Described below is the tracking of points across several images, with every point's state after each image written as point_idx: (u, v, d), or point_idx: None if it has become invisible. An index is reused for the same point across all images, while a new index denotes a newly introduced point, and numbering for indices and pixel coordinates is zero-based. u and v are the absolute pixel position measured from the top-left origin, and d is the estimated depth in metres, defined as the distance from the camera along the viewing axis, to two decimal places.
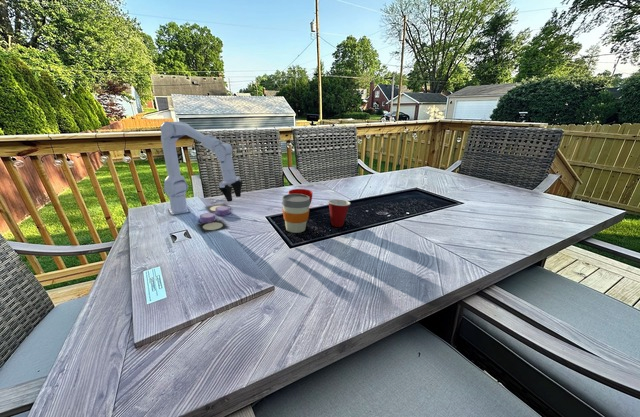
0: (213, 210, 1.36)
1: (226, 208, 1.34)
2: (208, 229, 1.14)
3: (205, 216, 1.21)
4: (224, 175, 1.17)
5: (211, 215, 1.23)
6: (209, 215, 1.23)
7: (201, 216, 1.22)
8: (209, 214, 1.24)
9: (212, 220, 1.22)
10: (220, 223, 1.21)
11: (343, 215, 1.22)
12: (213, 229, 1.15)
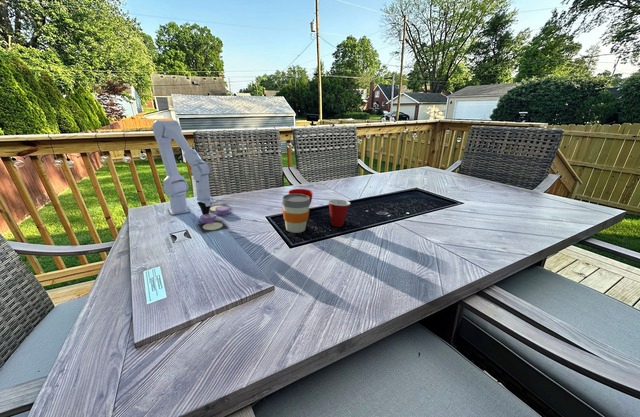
0: (213, 210, 1.36)
1: (226, 208, 1.34)
2: (208, 229, 1.14)
3: (205, 217, 1.21)
4: (203, 194, 1.20)
5: (211, 216, 1.22)
6: (209, 215, 1.23)
7: (202, 217, 1.21)
8: (210, 215, 1.24)
9: (213, 221, 1.21)
10: (220, 223, 1.21)
11: (343, 215, 1.22)
12: (213, 229, 1.15)
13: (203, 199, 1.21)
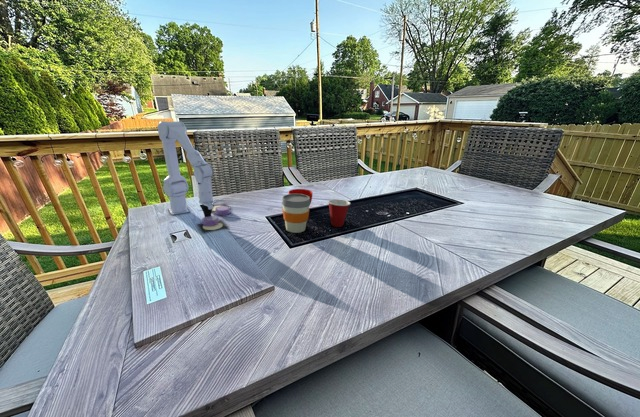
0: (213, 210, 1.36)
1: (226, 208, 1.34)
2: (208, 229, 1.14)
3: (207, 219, 1.18)
4: (206, 196, 1.17)
5: (214, 218, 1.20)
6: (212, 218, 1.20)
7: (204, 219, 1.18)
8: (212, 217, 1.21)
9: (215, 223, 1.19)
10: (220, 223, 1.21)
11: (343, 215, 1.22)
12: (213, 229, 1.15)
13: (205, 202, 1.18)
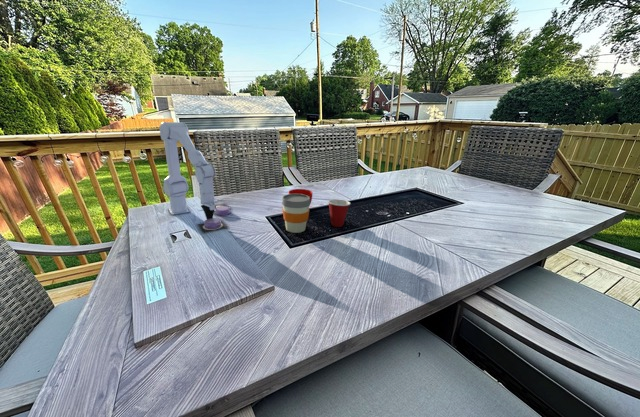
0: None
1: (226, 208, 1.34)
2: (208, 229, 1.14)
3: (210, 222, 1.15)
4: (207, 197, 1.15)
5: (216, 221, 1.17)
6: (214, 221, 1.17)
7: (206, 222, 1.15)
8: (214, 219, 1.18)
9: (217, 226, 1.16)
10: None
11: (343, 215, 1.22)
12: (213, 229, 1.15)
13: (207, 202, 1.15)
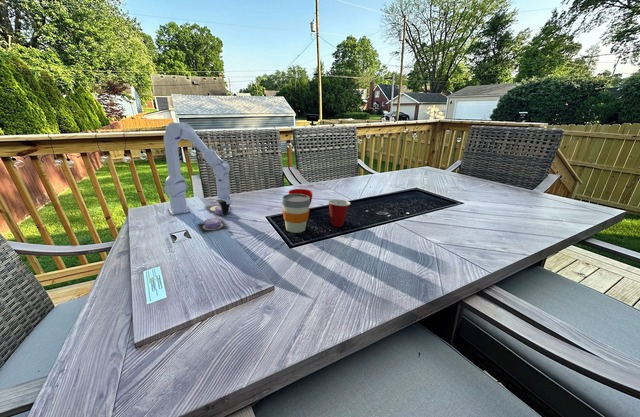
0: (213, 210, 1.36)
1: None
2: (208, 229, 1.14)
3: (210, 222, 1.15)
4: (224, 192, 1.25)
5: (216, 221, 1.17)
6: (214, 221, 1.17)
7: (206, 222, 1.15)
8: (214, 219, 1.18)
9: (217, 226, 1.16)
10: None
11: (343, 215, 1.22)
12: (213, 229, 1.15)
13: (223, 197, 1.25)
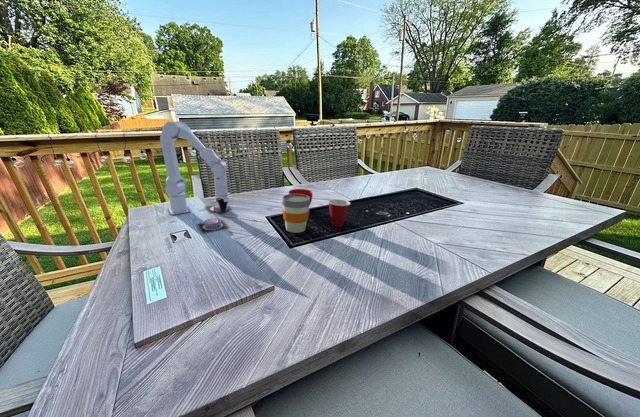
0: (213, 210, 1.36)
1: None
2: (208, 229, 1.14)
3: (210, 222, 1.15)
4: (222, 190, 1.27)
5: (216, 221, 1.17)
6: (214, 221, 1.17)
7: (206, 222, 1.15)
8: (214, 219, 1.18)
9: (217, 226, 1.16)
10: None
11: (343, 215, 1.22)
12: (213, 229, 1.15)
13: (221, 195, 1.28)
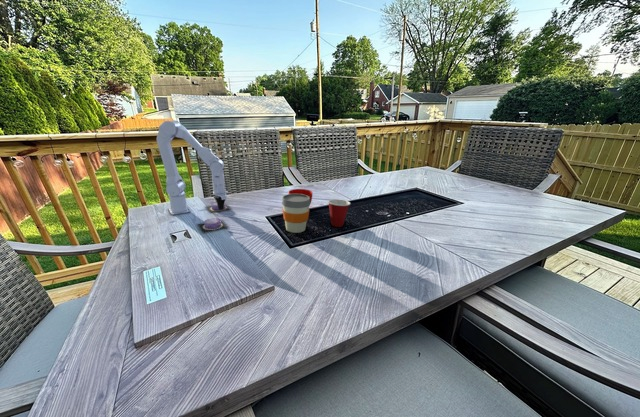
0: (213, 210, 1.36)
1: None
2: (208, 229, 1.14)
3: (210, 222, 1.15)
4: (219, 188, 1.30)
5: (216, 221, 1.17)
6: (214, 221, 1.17)
7: (206, 222, 1.15)
8: (214, 219, 1.18)
9: (217, 226, 1.16)
10: None
11: (343, 215, 1.22)
12: (213, 229, 1.15)
13: (219, 193, 1.31)
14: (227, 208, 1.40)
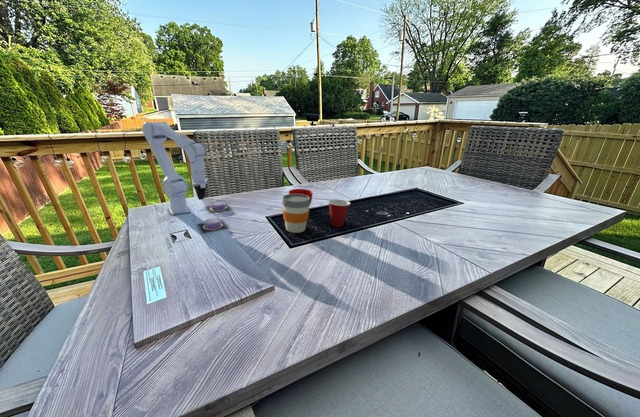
0: (213, 210, 1.36)
1: (221, 203, 1.40)
2: (208, 229, 1.14)
3: (210, 222, 1.15)
4: (198, 175, 1.18)
5: (216, 221, 1.17)
6: (214, 221, 1.17)
7: (206, 222, 1.15)
8: (214, 219, 1.18)
9: (217, 226, 1.16)
10: None
11: (343, 215, 1.22)
12: (213, 229, 1.15)
13: (198, 181, 1.18)
14: (227, 208, 1.40)
